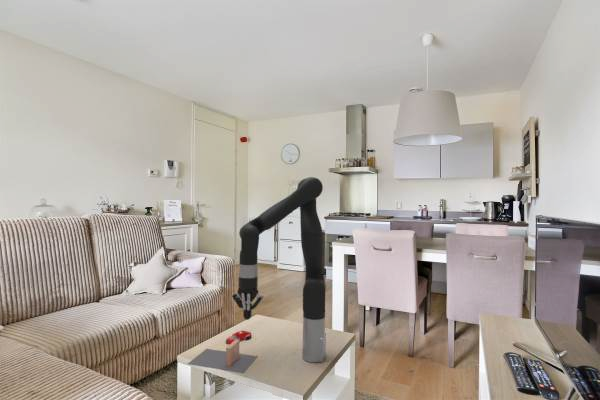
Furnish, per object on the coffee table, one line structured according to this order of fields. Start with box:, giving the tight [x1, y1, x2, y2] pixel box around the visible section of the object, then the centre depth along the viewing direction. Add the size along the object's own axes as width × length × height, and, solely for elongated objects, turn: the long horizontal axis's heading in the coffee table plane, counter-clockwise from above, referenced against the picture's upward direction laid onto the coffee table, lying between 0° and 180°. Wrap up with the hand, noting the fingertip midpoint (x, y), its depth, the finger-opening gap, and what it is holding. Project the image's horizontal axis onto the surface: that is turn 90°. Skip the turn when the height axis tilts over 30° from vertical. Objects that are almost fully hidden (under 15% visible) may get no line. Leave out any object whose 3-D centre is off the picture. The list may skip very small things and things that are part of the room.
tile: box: [225, 340, 240, 366], centre depth 131 cm, size 2×8×7 cm, turn 165°
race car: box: [225, 330, 253, 345], centre depth 152 cm, size 13×5×4 cm, turn 137°
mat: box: [187, 348, 259, 374], centre depth 132 cm, size 24×14×1 cm, turn 75°
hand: (247, 318), depth 129 cm, fingers closed
